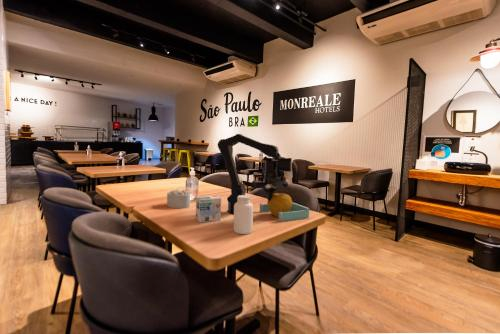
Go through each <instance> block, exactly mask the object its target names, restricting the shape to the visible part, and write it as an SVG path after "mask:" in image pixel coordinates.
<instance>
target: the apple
mask: <svg viewBox="0 0 500 334" xmlns="http://www.w3.org/2000/svg"><path fill="white" fill-rule="evenodd" d="M292 202H293V200H292V197H291V196H290V195H289V194H287V193H279V192H276V193H275V192H274V193H273V195H272V198H271V200H270V201H268V200H267V202H266V204H268V208H269V210H270V211H269V212H270V214H271V215H272V216H274V217H279V212H282V213H284V212H291V211H290V209H291V207H292Z"/></svg>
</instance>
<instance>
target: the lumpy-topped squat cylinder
mask: <svg viewBox="0 0 500 334" xmlns="http://www.w3.org/2000/svg"><path fill="white" fill-rule="evenodd" d="M168 206H170V208H172V207H173V209H189V208H190V207H191V193H190V192H188V190H186V189H182V190H180V189H175V190H174V189H173V190H171V191H169V192H167V193H166V207H168Z"/></svg>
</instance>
